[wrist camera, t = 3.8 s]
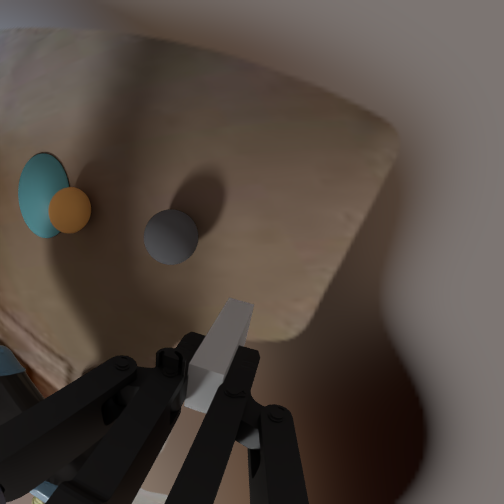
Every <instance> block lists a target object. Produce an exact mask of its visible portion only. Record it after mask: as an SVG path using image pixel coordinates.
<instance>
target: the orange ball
mask: <svg viewBox="0 0 504 504" xmlns="http://www.w3.org/2000/svg"><path fill="white" fill-rule="evenodd" d="M48 213H49V218H50V221H51V223H52V225H53V226H54V227H55V228H56V229H57V230H59V231H60V232H63V233H75V232H77V231H79V230H81V229H82V228H83V227H84V226H85V225H86V224H87V222H88V220H89V218H90V215H91V204H90V201H89V198H88V197H87V195H86V194H85V193H84V192H83V191H82V190H80V189H78V188H75V187H67V188H63V189H61V190H59V191H58V192H57V193H56V194H55V195H54V196H53V197H52V199H51V201H50V204H49V210H48Z"/></svg>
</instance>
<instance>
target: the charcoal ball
mask: <svg viewBox="0 0 504 504" xmlns="http://www.w3.org/2000/svg"><path fill="white" fill-rule="evenodd" d="M144 243H145V247H146V249H147V251H148V253H149V254H150V255H151V256H152V257H153V258H154V259H155V260H157V261H158V262H160V263H163V264H168V265H174V264H179V263H182V262H183V261H185V260H187V259H188V258H189V257H190V256H191V255H192V254H193V252H194V251H195V249H196V246H197V243H198V231H197V227H196V225H195V223H194V221H193V220H192V219H191V218H190V217H189V216H188V215H187V214H185V213H183V212H181V211H178V210H164V211H161V212H159V213H157V214H156V215H154V216H153V217H152V218H151V219H150V220H149V222H148V224H147V225H146V228H145V232H144Z"/></svg>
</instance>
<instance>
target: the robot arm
mask: <svg viewBox="0 0 504 504" xmlns="http://www.w3.org/2000/svg"><path fill="white" fill-rule="evenodd" d="M253 307H254V304H251V303H247V302H243V301H240V300H236V299H233V298H229V299H228V301H227V302H226V304H225V306H224V307H223V309H222V310H221V312H220V314H219V315H218V317H217V319H216V320H215V322H214V324H213V325H212V327H211V328H210V330H209V332H208V333H207V335H206V336H204V335H201V334H198V333H195V332H190V333H188V334H186V335H185V336H184V337H183V338H182V340H181V341H180V342H179V344H178V345H177V347H176V348H175V349H174V348H163V349H160V350H159V351H157V352H156V367H155V368H144V367H138V366H137V364H136V361H135V360H133V359H132V358H130V357H128V356H123V355H121V356H115V357H113V358H111V359H109V360H108V361H106V362H104V363H103V364H101V365H100V366H98V367H96V368H95V369H93V370H91V371H90V372H88V373H87V374H85V375H83V376H82V377H80V378H78V379H77V380H75V381H73V382H72V383H70V384H69V385H67V386H65V387H64V388H62V389H60V390H59V391H57V392H55V393H54V394H52V395H51V396H49V397H47V398H46V399H45V398H44V397H43V396H42V395H41V393H40V392H39V391H38V389H37V388H36V387H35V385H34V384H33V382H32V381H31V380H30V378H29V377H28V375H27V374H26V372H25V371H26V370H25V368H23V367H22V366H21V365H20V363H19V362H18V361H17V359H16V358H15V356H14V355H13V353H12V352H11V351H10V350H9V349H8V348H7V347H5V346H2V345H0V504H6V502H10V501H13V500H15V499H18V498H20V497H22V496H24V495H25V494H27V493H29V492H30V493H31V494H32V495H34V496H35V497H37V498H38V499H40V500H41V501H43V502H44V503H45V504H132V502H133V500H134V498H135V497H136V495H137V493H138V491H139V489H140V487H141V485H142V484H143V482H144V480H145V478H146V476H147V475H148V473H149V471H150V469H151V467H152V465H153V463H154V462H155V460H156V458H157V456H158V454H159V453H160V451H161V449H162V447H163V445H164V443H165V441H166V440H167V438H168V436H169V434H170V432H171V430H172V428H173V427H174V425H175V423H176V421H177V419H178V417H179V415H180V413H181V406H182V404H183V402H184V400H185V404H184V406H186V407H188V408H191V409H194V410H197V411H200V412H203V413H206V415H205V418H204V420H203V422H202V425H201V427H200V429H199V431H198V433H197V435H196V437H195V440H194V442H193V444H192V446H191V448H190V450H189V453H188V455H187V457H186V459H185V461H184V463H183V466H182V468H181V470H180V472H179V474H178V476H177V478H176V480H175V483H174V485H173V487H172V489H171V491H170V493H169V495H168V497H167V499H166V501H165V504H213V503H214V500H215V497H216V495H217V492H218V489H219V486H220V483H221V480H222V477H223V474H224V471H225V469H226V465H227V463H228V460H229V457H230V454H231V451H232V447H233V444H234V442H235V440H236V441H237V442H239V443H241V444H243V445H244V446H246V447H248V468H249V486H250V487H249V488H250V504H309V502H308V497H307V491H306V487H305V480H304V475H303V470H302V464H301V459H300V454H299V449H298V443H297V438H296V433H295V428H294V422H293V417H292V415H291V412H290V411H289V410H287V409H286V408H285V407H283V406H280V405H275V404H274V405H268V406H265V407H264V406H262V405H260V404H259V403H257V402H256V401H255V400H254V399H253V397H252V396H251V387H252V384H253V381H254V377H255V374H256V370H257V367H258V364H259V360H260V355H259V352H258V351H257V350H254V349H250V348H247V347H243V346H244V344H245V341H246V337H247V332H248V328H249V324H250V320H251V316H252V312H253Z"/></svg>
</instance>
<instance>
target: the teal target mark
mask: <svg viewBox="0 0 504 504" xmlns="http://www.w3.org/2000/svg"><path fill="white" fill-rule="evenodd" d="M67 187H69V183H68V179H67V176H66V173H65V171H64V169H63V167H62V165H61V164H60V162H59V161H58V160H57V159H56V158H55V157H53V156H52V155H49V154H37V155H35V156H34V157H32V158H31V159H30V160H29V161H28V162H27V164H26V165H25V167H24V169H23V171H22V174H21V177H20V181H19V190H18V196H19V205H20V209H21V213H22V216H23V218H24V220H25V222H26V224H27V225H28V227H29V228H30V229H31V231H33V232H34V233H35V234H36V235H38V236H40V237H43V238H51V237H53V236H55V235H57V234H58V233H59V232H60V231H59V230H57V229H56V228H55V227H54V226H53V225H52V223H51V221H50V218H49V213H48V210H49V204H50V201H51V199H52V197H53V196H54V195H55V194H56V193H57V192H58V191H59V190H61V189H63V188H67Z"/></svg>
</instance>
